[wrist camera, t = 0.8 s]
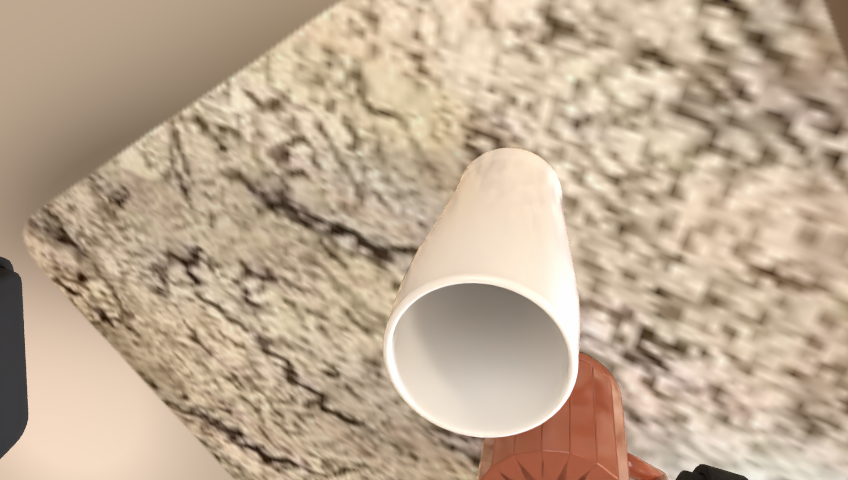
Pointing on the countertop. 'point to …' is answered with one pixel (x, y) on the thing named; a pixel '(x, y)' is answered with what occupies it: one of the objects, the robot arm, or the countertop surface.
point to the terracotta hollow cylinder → (572, 439)
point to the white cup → (490, 304)
